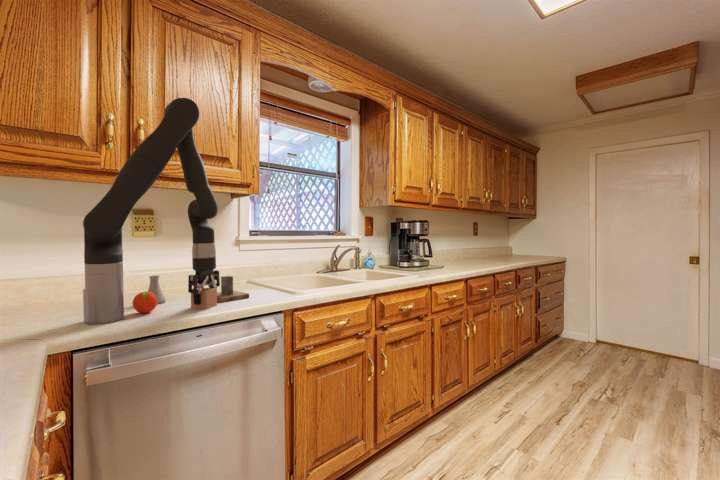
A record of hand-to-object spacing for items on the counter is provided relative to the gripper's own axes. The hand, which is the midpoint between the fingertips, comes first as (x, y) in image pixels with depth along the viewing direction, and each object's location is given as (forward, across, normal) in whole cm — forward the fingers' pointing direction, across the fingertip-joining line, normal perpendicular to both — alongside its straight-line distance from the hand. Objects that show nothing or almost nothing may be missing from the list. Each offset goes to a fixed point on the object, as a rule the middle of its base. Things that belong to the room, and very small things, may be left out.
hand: (205, 301), depth 123 cm
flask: (+2, +2, +22) cm, 22 cm away
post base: (+2, +15, +1) cm, 15 cm away
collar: (+2, 0, 0) cm, 2 cm away
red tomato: (+2, -12, +13) cm, 18 cm away
